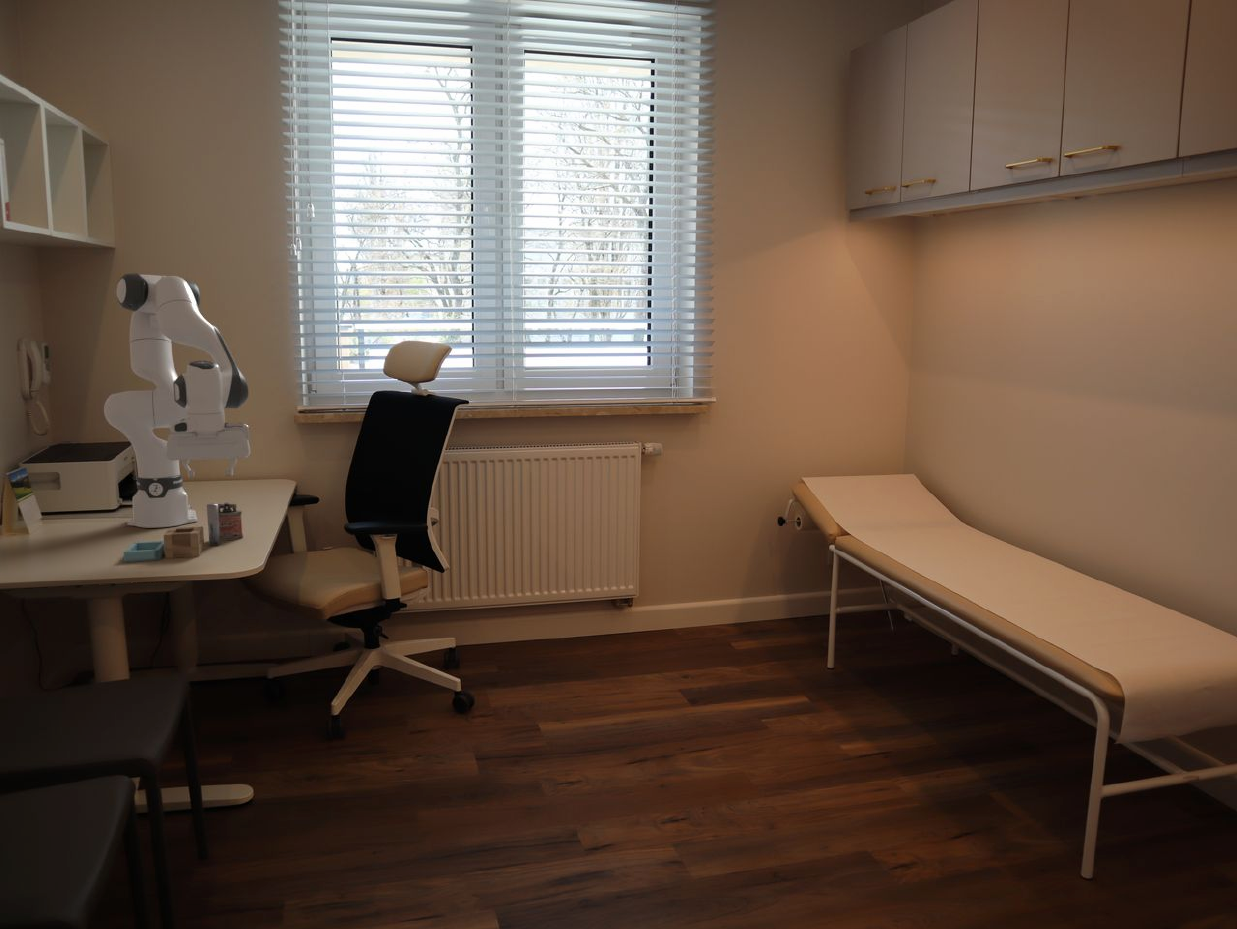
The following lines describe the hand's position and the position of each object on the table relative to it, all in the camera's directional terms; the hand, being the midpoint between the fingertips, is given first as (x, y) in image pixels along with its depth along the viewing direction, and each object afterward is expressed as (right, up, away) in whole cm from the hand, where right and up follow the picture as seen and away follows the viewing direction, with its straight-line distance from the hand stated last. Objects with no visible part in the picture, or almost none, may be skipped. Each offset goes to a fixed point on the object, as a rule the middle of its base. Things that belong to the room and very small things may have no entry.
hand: (210, 476), depth 260 cm
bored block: (-4, -20, -6) cm, 21 cm away
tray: (-13, -20, -9) cm, 25 cm away
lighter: (0, -17, +10) cm, 20 cm away
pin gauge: (0, -18, +3) cm, 19 cm away
